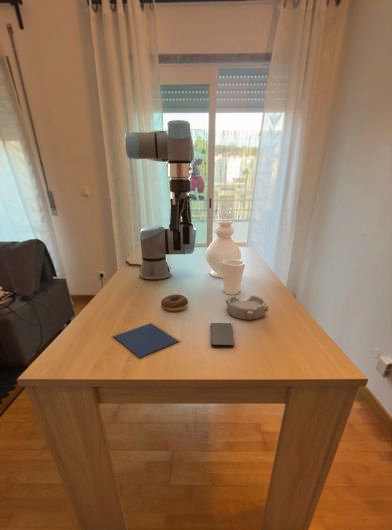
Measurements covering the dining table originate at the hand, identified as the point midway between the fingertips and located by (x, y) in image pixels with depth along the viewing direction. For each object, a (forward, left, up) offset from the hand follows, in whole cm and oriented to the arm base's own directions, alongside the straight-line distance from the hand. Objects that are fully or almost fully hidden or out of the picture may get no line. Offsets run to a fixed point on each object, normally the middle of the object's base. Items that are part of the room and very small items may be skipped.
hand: (182, 247), depth 108 cm
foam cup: (+8, +21, -21) cm, 30 cm away
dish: (+27, +9, -21) cm, 35 cm away
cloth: (+19, -30, -21) cm, 42 cm away
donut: (+5, -8, -21) cm, 23 cm away
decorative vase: (-13, +36, -21) cm, 43 cm away
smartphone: (+33, -10, -21) cm, 41 cm away
